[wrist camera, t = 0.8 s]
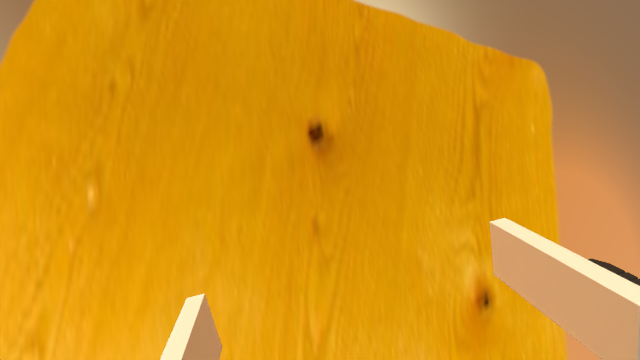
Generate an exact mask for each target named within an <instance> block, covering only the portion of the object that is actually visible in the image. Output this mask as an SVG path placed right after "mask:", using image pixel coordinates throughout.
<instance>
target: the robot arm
mask: <svg viewBox="0 0 640 360" xmlns="http://www.w3.org/2000/svg"><path fill="white" fill-rule="evenodd" d="M490 232H491V244H492V257H493V269H494V275H495V276H496V277H498V278H499V279H500V280H502V281H503V282H504V283H505V284H507V285H508V286H509V287H510V288H512V289H513V290H514V291H515V292H517V293H518V294H519V295H521V296H522V297H523V298H524V299H526V300H527V301H528V302H529V303H531V304H532V305H533V306H534V307H536V308H537V309H538V310H540V311H541V312H542V313H543V314H545V315H546V316H547V317H548V318H550V319H551V320H552V321H554V322H555V323H556V324H557V325H559V326H560V327H561V328H562V329H564V330H565V331H566V332H567V333H569V334H570V335H571V336H573V337H574V338H575V339H576V340H578V341H579V342H580V343H581V344H583V345H584V346H585V347H586V348H588V349H589V350H590V351H592V352H593V353H594V354H595V355H597V356H598V357H599V358H600V359H602V360H640V279H638V278H637V277H636V276H634V275H632V274H630V273H626V272H625V271H624V270H622V269H620V268H617V267H616V266H613V265H611V264H609V263H605V262H602V261H598V260H595V259H589V260H587V259H585V258H583V257H581V256H579V255H577V254H575V253H573V252H571V251H569V250H567V249H565V248H563V247H561V246H559V245H558V244H556V243H554V242H552V241H550V240H548V239H546V238H544V237H542V236H540V235H538V234H536V233H534V232H532V231H530V230H528V229H526V228H524V227H522V226H520V225H518V224H516V223H514V222H512V221H510V220H508V219H506V218H503V219H499V220H495V221H491V222H490ZM221 350H222V345H221V342H220V339H219V336H218V333H217V330H216V327H215V324H214V320H213V317H212V314H211V311H210V308H209V305H208V302H207V299H206V296H205V294H201V295H197V296H193V297H189V298H187V299H186V301H185V303H184V306H183V308H182V310H181V313H180V315H179V317H178V319H177V322H176V324H175V326H174V329H173V331H172V333H171V335H170V338H169V340H168V342H167V345H166V347H165V349H164V351H163V354H162V356H161V358H160V360H219V359H220V354H221Z"/></svg>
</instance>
